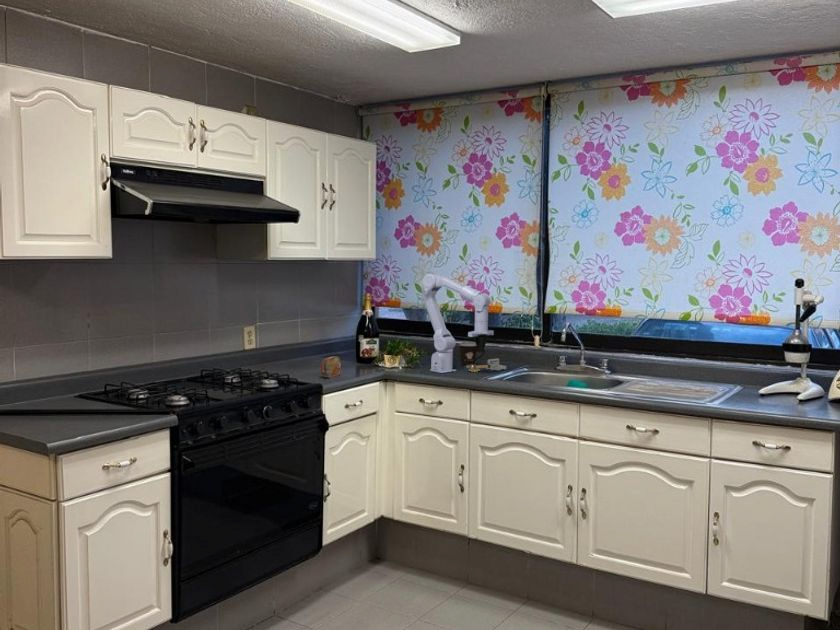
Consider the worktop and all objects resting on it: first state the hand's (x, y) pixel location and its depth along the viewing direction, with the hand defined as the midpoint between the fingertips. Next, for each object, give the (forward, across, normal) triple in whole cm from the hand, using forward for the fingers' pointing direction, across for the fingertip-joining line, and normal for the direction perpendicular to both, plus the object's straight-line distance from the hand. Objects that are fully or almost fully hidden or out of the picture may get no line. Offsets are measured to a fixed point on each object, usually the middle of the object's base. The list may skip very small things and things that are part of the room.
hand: (480, 352), depth 330 cm
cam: (+10, +7, +7) cm, 14 cm away
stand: (+10, +18, +6) cm, 21 cm away
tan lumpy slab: (+10, -54, +36) cm, 66 cm away
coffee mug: (+10, +16, +20) cm, 28 cm away
